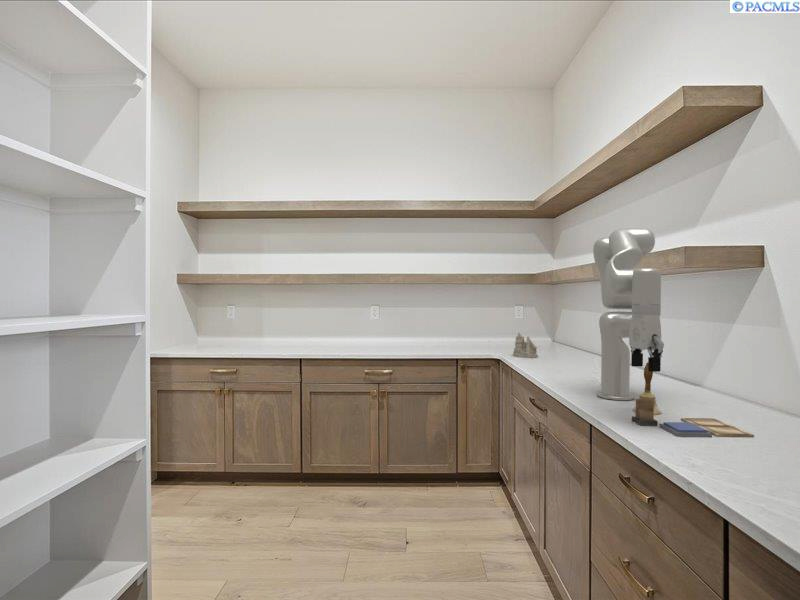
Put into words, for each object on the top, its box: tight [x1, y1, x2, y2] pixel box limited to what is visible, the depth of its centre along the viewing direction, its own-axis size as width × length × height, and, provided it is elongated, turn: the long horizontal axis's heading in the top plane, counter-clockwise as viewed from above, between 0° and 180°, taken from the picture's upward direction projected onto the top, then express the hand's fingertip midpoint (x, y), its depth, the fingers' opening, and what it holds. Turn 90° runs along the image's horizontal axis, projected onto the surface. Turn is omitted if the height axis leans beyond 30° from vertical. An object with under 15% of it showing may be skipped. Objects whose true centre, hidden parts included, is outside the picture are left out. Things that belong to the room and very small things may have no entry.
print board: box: [680, 417, 755, 438], centre depth 131 cm, size 16×10×1 cm, turn 179°
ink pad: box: [658, 421, 713, 438], centre depth 127 cm, size 9×9×2 cm
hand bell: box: [632, 362, 663, 416], centre depth 149 cm, size 8×8×16 cm
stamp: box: [631, 398, 659, 427], centre depth 135 cm, size 5×5×7 cm
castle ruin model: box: [512, 332, 539, 359], centre depth 282 cm, size 16×16×15 cm
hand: (645, 368), depth 135 cm, fingers open, 9 cm apart
